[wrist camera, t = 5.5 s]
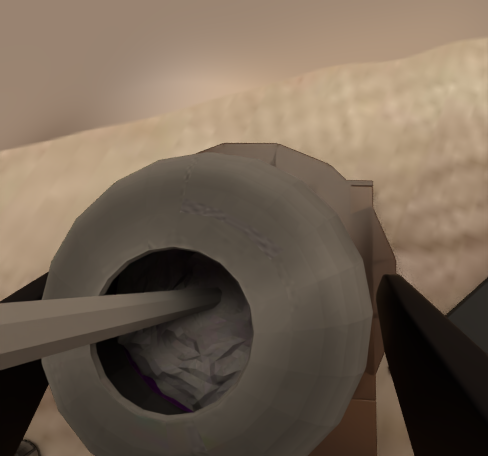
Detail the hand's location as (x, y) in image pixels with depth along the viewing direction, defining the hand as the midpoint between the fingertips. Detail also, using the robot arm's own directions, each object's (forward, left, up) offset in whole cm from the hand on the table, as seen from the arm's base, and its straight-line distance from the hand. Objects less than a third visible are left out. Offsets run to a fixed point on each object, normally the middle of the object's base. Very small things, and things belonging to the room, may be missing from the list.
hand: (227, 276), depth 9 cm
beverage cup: (0, 0, -10) cm, 10 cm away
